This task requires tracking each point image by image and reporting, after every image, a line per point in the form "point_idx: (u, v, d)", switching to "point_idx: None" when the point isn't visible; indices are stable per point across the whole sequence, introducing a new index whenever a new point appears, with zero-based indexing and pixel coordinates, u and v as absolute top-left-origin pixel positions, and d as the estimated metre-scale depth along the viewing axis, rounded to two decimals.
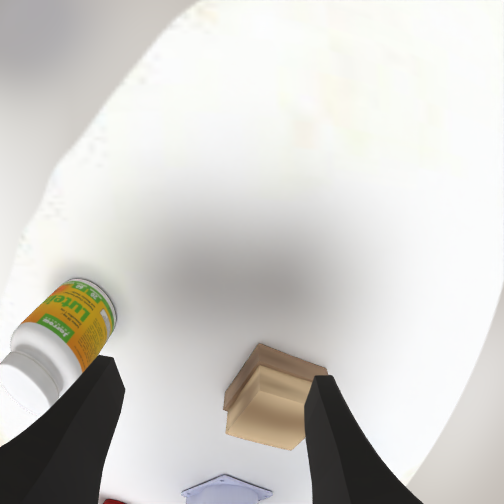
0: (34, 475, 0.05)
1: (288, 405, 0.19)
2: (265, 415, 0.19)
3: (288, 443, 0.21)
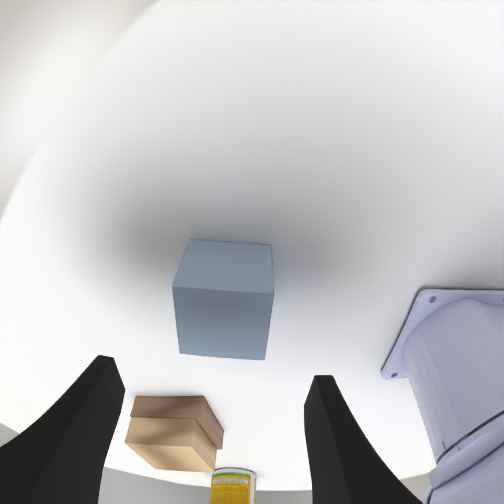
0: (34, 475, 0.05)
1: (148, 459, 0.21)
2: (169, 464, 0.21)
3: (183, 450, 0.19)
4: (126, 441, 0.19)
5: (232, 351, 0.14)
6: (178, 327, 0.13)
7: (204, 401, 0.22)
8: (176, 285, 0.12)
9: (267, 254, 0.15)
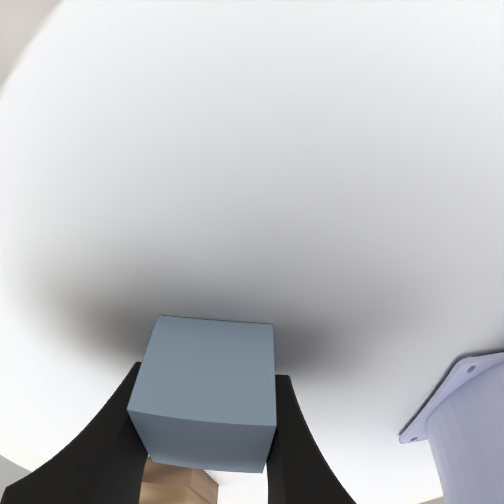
0: (86, 496, 0.05)
1: None
2: None
3: None
4: None
5: (219, 466, 0.09)
6: (145, 444, 0.08)
7: None
8: (132, 408, 0.07)
9: (267, 345, 0.10)
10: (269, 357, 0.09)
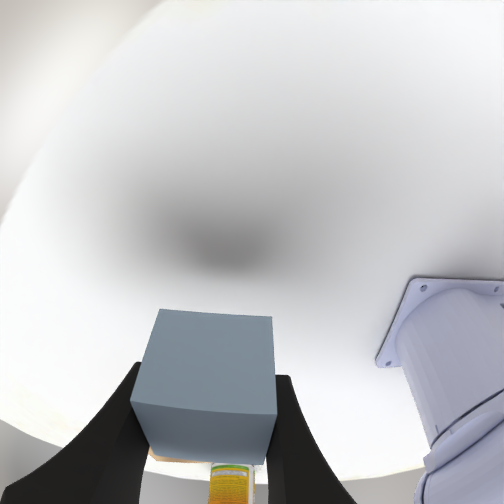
0: (85, 495, 0.05)
1: (150, 450, 0.22)
2: None
3: None
4: None
5: (221, 458, 0.09)
6: (147, 436, 0.09)
7: None
8: (135, 399, 0.08)
9: (267, 337, 0.10)
10: (269, 348, 0.10)
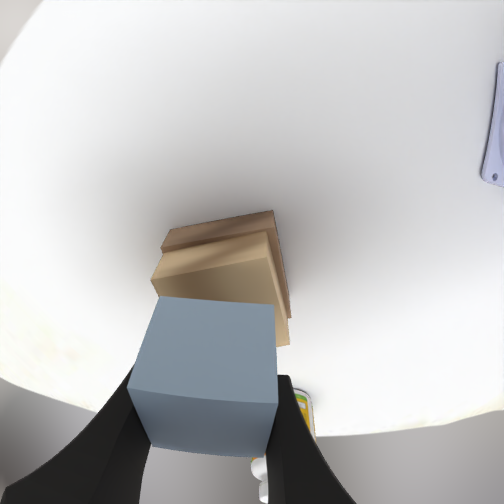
0: (86, 496, 0.05)
1: None
2: None
3: (251, 274, 0.14)
4: (153, 278, 0.14)
5: (220, 450, 0.09)
6: (145, 426, 0.09)
7: (274, 219, 0.17)
8: (132, 386, 0.07)
9: (269, 325, 0.10)
10: (270, 336, 0.10)
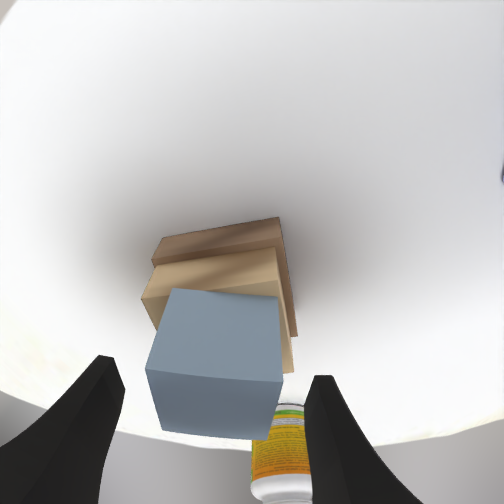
0: (34, 475, 0.05)
1: None
2: None
3: None
4: (144, 296, 0.12)
5: (227, 433, 0.10)
6: (157, 408, 0.10)
7: (280, 227, 0.15)
8: (150, 367, 0.08)
9: (273, 314, 0.11)
10: (275, 324, 0.11)
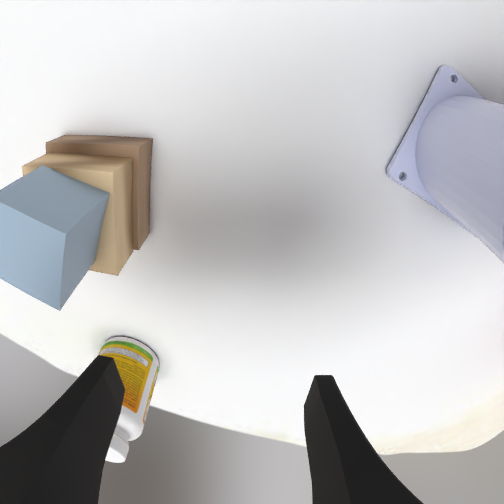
0: (34, 475, 0.05)
1: None
2: None
3: (97, 185, 0.13)
4: (25, 165, 0.12)
5: (32, 288, 0.11)
6: None
7: (150, 146, 0.16)
8: None
9: (96, 200, 0.12)
10: (92, 205, 0.12)
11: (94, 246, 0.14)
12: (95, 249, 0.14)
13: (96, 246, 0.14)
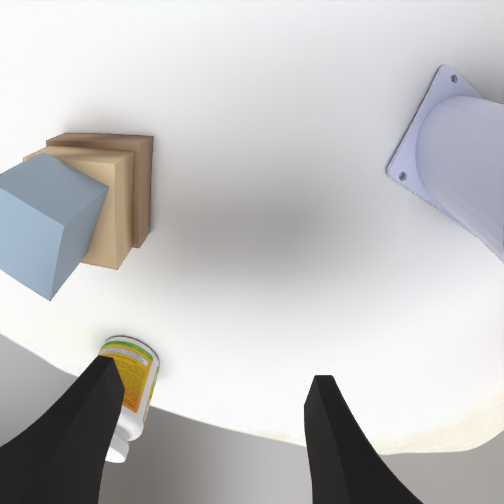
0: (34, 475, 0.05)
1: None
2: None
3: (98, 177, 0.13)
4: (26, 157, 0.12)
5: (23, 276, 0.11)
6: None
7: (150, 144, 0.16)
8: None
9: (95, 193, 0.12)
10: (91, 197, 0.12)
11: (88, 238, 0.14)
12: (89, 241, 0.14)
13: (90, 238, 0.14)
